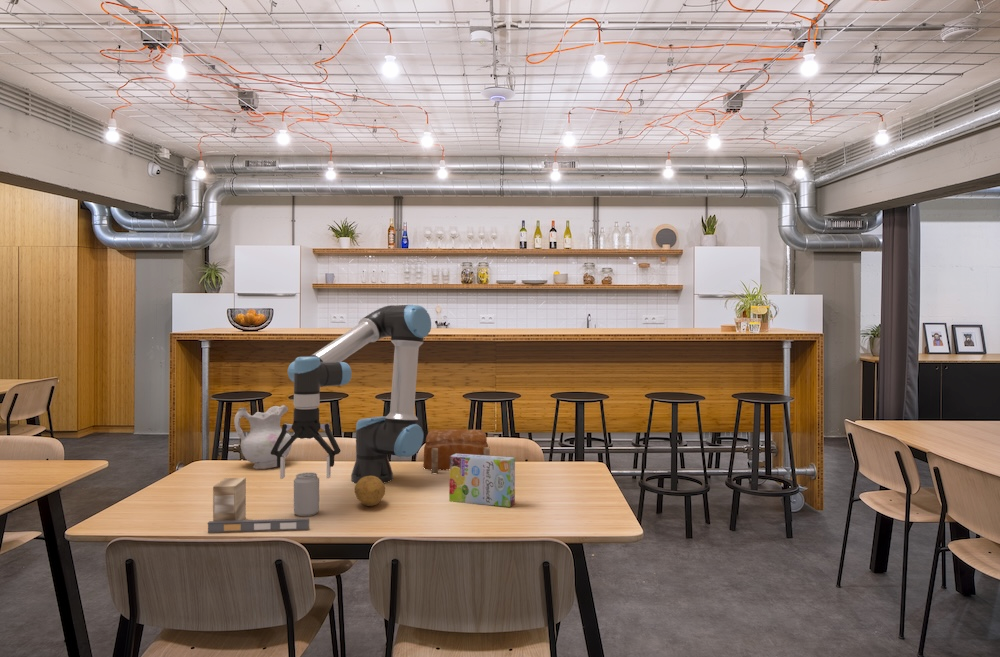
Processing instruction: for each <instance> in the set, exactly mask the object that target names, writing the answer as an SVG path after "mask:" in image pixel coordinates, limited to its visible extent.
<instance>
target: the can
mask: <svg viewBox="0 0 1000 657" xmlns="http://www.w3.org/2000/svg"><path fill="white" fill-rule="evenodd" d="M319 511H320V477H318V473H317V472H301V473H297V474H296V475H295V478H294V479H293V513H294V514H295V515H296V516H298V517H312V516H315V515H316V514H317V513H318V512H319Z"/></svg>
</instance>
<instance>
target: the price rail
mask: <svg viewBox="0 0 1000 657" xmlns="http://www.w3.org/2000/svg"><path fill="white" fill-rule="evenodd" d="M300 530H301V531H304V530H305V531H307V530H310V518H309V517H307V518H281V519H280V518H276V519H275V518H274V519H271V518H270V519H244V520H234V521H213V520H209V521H208V522H207V533H208V534H210V533H235V532H236V533H237V532H239V533H240V532H241V533H243V532H270V531H271V532H272V531H300Z"/></svg>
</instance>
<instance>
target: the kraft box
mask: <svg viewBox="0 0 1000 657" xmlns="http://www.w3.org/2000/svg"><path fill="white" fill-rule="evenodd" d="M246 479H247V478H246V477H227V478H226V477H225V478H223V479H221V480H220V481H219V482H217V483H216V484H215V485H214V486H213V488H212V521H234V520H246V516H247V514H246V512H247V510H246V508H247V506H246V505H247V502H246V500H247V499H246V498H247V495H246V493H247V492H246V491H247V490H246V489H247V488H246V487H247V485H246V484H247V482H246Z"/></svg>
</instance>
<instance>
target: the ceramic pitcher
mask: <svg viewBox="0 0 1000 657" xmlns="http://www.w3.org/2000/svg"><path fill="white" fill-rule="evenodd" d="M247 409H248V408H247V407H240V408H238V409H237V411H236V414H235V415H234V418H233V419H234V421H233V423H234V428H235V431H236V433H237V435H238V437H239V438H240V450H241V453H242V455H243V457H244V459H246V460H247V461H248V462H250V463H254V464H253V467H252V468H253V469H254V470H255V469H256V470H265V469H271V468H278V467H277V456H276V455H272V454H271V451H272V449H273V447H274V445H275V443H276V441H277V439H278V437H279V435H280V433H281V432H282V426H281V421H282V420H281V419H282V417H283V415H285V414H286V413H287V412H288V411H289V409H288V406H287V405H284V404H282V405H280V406H279V405H273V406H271V407H269V408H268V409H267V410H266V411H265V412H260V411H256V412H255V413H254V414H253V415H251V414H250V413H249V412H248V411H247ZM242 418H245V419H246V420H247V421H248V422H249V426H250V428H249V429H250V430H249V432H248V434H246V436H245V434H244V431H243V430H242V428H241V419H242ZM291 437H292V435H290V434H289V433H288V432H287V433H286V435H285V437H284V439H283V441H282V442H281V444H280V446H279V448H278V450H277V451H280V450H281V449H282V448H283V446H284V445H285V444H286V443H287V442H288V441H289V440H290V439H291ZM292 446H293V443H292V444H291V445H290V446H289V447H288V449H287V450H286V451H285V452H284V453H283V454H282V456H283V455H285V458H286V457H287V456H288V455H289V454H290V452H291V450H292Z"/></svg>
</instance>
